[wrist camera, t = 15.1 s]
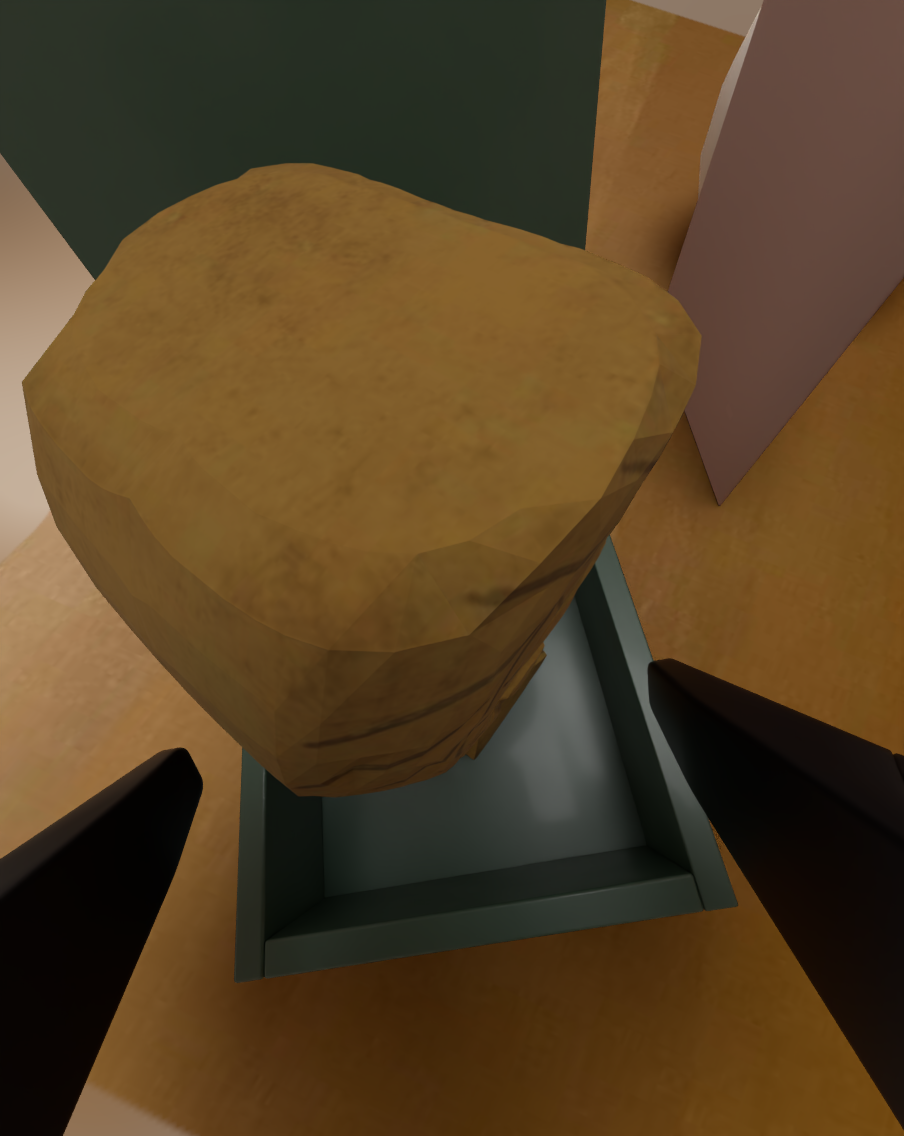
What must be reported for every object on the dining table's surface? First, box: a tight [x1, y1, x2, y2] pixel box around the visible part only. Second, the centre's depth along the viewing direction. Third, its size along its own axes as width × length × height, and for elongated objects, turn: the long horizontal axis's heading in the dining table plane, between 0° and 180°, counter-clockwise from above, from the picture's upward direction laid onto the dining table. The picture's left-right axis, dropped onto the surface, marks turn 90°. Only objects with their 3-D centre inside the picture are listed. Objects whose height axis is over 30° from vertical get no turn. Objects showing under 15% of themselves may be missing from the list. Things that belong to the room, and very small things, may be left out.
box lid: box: [0, 0, 606, 280], centre depth 11 cm, size 16×13×4 cm
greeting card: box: [668, 0, 904, 506], centre depth 16 cm, size 11×7×15 cm, turn 149°
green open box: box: [234, 534, 738, 983], centre depth 16 cm, size 16×13×5 cm
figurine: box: [22, 163, 702, 798], centre depth 11 cm, size 7×6×15 cm
